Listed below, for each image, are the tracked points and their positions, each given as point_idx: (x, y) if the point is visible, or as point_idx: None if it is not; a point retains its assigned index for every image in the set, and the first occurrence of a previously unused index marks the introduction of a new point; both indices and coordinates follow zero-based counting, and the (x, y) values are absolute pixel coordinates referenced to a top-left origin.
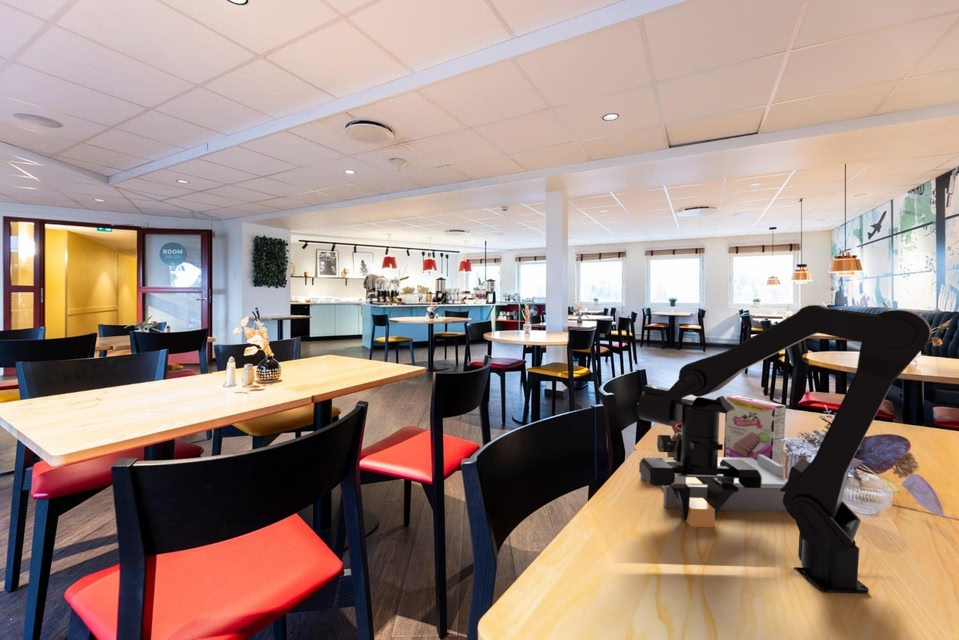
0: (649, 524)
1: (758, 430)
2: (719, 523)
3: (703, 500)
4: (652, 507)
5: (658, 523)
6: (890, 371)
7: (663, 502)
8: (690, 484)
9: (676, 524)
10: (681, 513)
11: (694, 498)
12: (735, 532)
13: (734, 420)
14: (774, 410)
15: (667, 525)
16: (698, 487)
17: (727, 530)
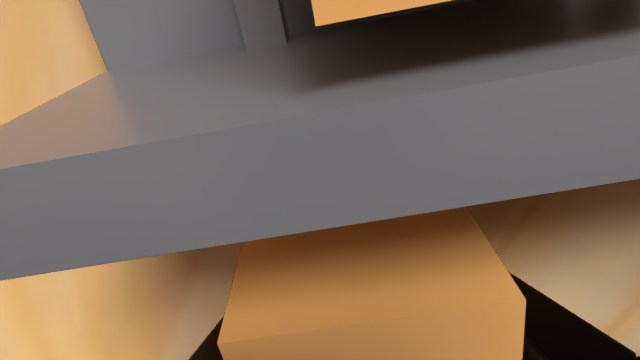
0: (31, 307)
1: None
2: (557, 192)
3: (497, 356)
4: (19, 33)
5: (91, 284)
6: None
7: (91, 79)
8: (515, 77)
9: (216, 270)
10: None
11: (400, 334)
12: (596, 280)
13: None
14: None
15: (152, 294)
16: (631, 170)
17: (555, 269)
